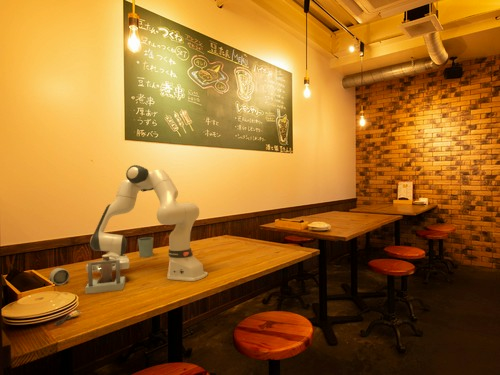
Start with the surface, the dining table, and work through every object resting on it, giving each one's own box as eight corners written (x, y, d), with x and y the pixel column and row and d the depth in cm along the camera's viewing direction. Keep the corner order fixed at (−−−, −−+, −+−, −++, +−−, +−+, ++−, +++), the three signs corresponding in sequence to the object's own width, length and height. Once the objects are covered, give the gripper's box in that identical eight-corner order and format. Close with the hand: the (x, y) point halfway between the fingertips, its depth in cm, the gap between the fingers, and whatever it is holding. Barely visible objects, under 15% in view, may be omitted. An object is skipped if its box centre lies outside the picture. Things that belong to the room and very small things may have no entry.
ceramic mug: (64, 279, 166) (64, 265, 166) (70, 282, 161) (69, 268, 160) (41, 285, 158) (40, 270, 158) (46, 288, 153) (45, 273, 152)
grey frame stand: (90, 285, 156) (89, 257, 155) (125, 281, 160) (124, 254, 160) (85, 293, 144) (84, 263, 144) (122, 289, 149) (121, 260, 148)
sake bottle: (114, 282, 155) (113, 254, 154) (105, 285, 151) (104, 256, 150) (108, 281, 157) (107, 253, 157) (99, 284, 153) (98, 255, 153)
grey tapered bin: (148, 258, 208) (148, 240, 208) (135, 257, 210) (134, 239, 210) (156, 254, 218) (155, 237, 218) (143, 254, 220) (142, 237, 220)
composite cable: (57, 327, 112) (56, 320, 112) (49, 324, 114) (48, 318, 114) (82, 316, 121) (82, 310, 121) (74, 314, 123) (74, 308, 123)
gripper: (88, 258, 163) (82, 265, 150) (130, 255, 169) (127, 261, 156) (89, 270, 163) (82, 278, 150) (130, 266, 169) (128, 273, 156)
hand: (106, 269), depth 153 cm, fingers closed on sake bottle, 5 cm apart
